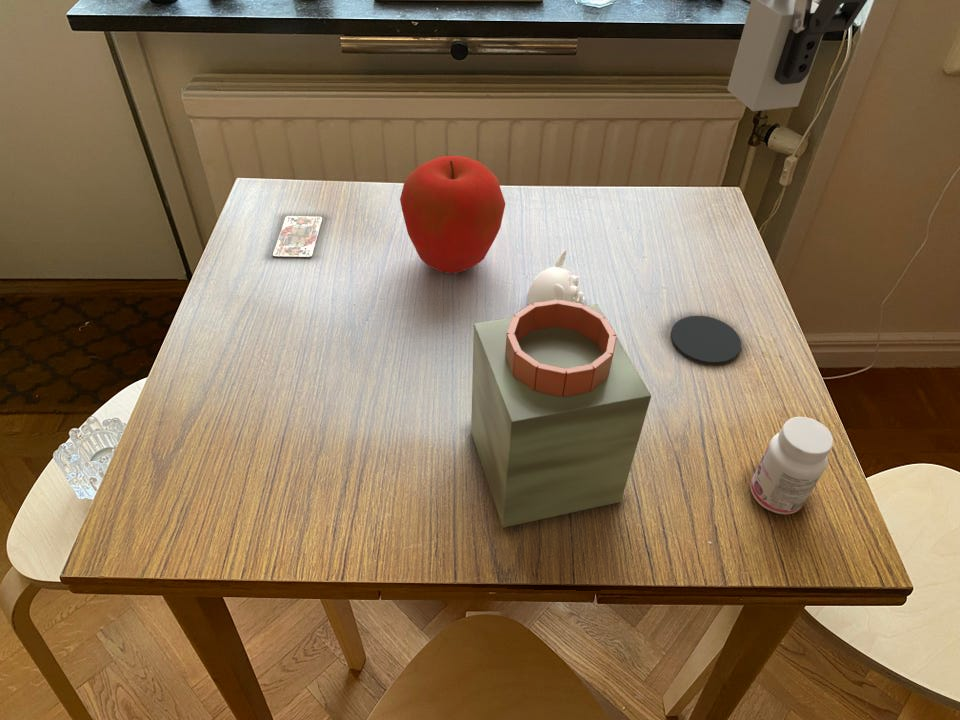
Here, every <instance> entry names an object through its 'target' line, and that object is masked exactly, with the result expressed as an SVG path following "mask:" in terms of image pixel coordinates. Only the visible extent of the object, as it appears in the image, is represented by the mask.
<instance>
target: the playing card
mask: <svg viewBox="0 0 960 720" xmlns="http://www.w3.org/2000/svg"><path fill="white" fill-rule="evenodd" d="M322 221H323V217H322V216H313V215H311V216H309V215H306V216H304V215H302V216H301V215H287V216H285V218H284V221H283V223H282V226H281V230H280V232H279V235H278V238H277V241H276V244H275V247H274V249H273V253H272V256H273V257H290V258H291V257H295V258H296V257H297V258H298V257H299V258H310V257H312V256H313V255H314V250H315V247H316V243H317V239H318V237H319V232H320V229H321V225H322Z"/></svg>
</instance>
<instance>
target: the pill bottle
mask: <svg viewBox="0 0 960 720" xmlns="http://www.w3.org/2000/svg"><path fill="white" fill-rule="evenodd" d="M833 446H834V438H833V434H832V433H831V431H830V430H829V429H828V428H827V427H826V425H825V424H823V423H821V422H820V421H818V420H816V419H814V418H811V417H805V416H795V417H791V418H789V419H787V420H786V421H785V422H784V424H783V425H782V427H781V429H780V430H779V432H778V433H776V434H775V435H774V436H772V438H771V439H770V441H769V443H768V445H767V447H766V448H765V451H764V452H763V455H762V457H761V460H760V462H759V463H758V465H757V467H756V470H755V472H754V473H753V476H752V478H751V480H750V491H751V495H752V497H753V498H754V499H755V501H756V502H757V503H758V504H759V505H760V506H761V507H762V508H764V509H766V510H768V511H770V512H772V513H775V514H779V515H791V514H795V513H797V512H799V511H800V510H801V509H802V508H803V507H804V506H805V504H806V502H807V500H808V498H809V497H810V495H811V493H812V492H813V490H814V488H815V487H816V486H817V484H818V483H819V480H820V478H821V477H822V476H823V475H824V472H825V471H826V468H827V466H828V464H829V456H828V455H829V453H830V452H831V450H832V449H833Z"/></svg>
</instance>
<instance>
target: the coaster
mask: <svg viewBox="0 0 960 720" xmlns="http://www.w3.org/2000/svg"><path fill="white" fill-rule="evenodd" d="M670 340H671V344H672V345H673V346H674V348H675V349H676V350H677V351H678V353H680V354H681V355H683V356H684V357H686V358H687V359H689V360H691V361H694V362H696V363H699V364H703V365H715V366H716V365H718V366H719V365H724V364H727V363H730V362H732V361H733V360H735V359H737V357H738V356H739V354H740V352H741V350H742V339H741V338H740V335H739V334H738V332H737V331H736V330H735V329H734V328H733V327H732V326H730V325H729V324H728V323H726V322H724V321H722V320H720V319H718V318H714V317H711V316H708V315H707V316H706V315H690V316H685V317H683V318H681V319H679V320H677V321H676V322H675V323H674V324H673V326H672V328H671V330H670Z"/></svg>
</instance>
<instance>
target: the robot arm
mask: <svg viewBox="0 0 960 720" xmlns="http://www.w3.org/2000/svg"><path fill="white" fill-rule="evenodd" d="M751 1H752V0H750V2H751ZM812 1H813V0H795V6H794V12H793V18H792V30H789V32H788V35H787V38H786V41H785V44H784V48H783V51H782V54H781V57H780V60H779V63H778V66H777V69H776V73H775V76H774V78H775V80H776V81H777V82H779V83H780V84H782V85H784V84H794V83H800V82H801V81H802V80H803V79H804V78H805V77H806V76H807V75H808V73H809V71H810V68H811V66H812V67H813V65H811V64H812V63H813V64H814V62H813V60H814V59H813V58H814V57H815V54H816V52H817V53H818V51H817V49H818V50H819V48H818V46H819V47H820V45H819V43H820V40H821V38H822V39H823V37H824V35H825V34H826V33H829V32H840V31H841V32H842V31H847V30H849V29H850V27H851V26H852V25H853V23H854V22H855V20H856V19H857V18H858V16H859V14H860V13H861V11H862V10H863V8H864V7H865V5H866V4H867V2H868V0H818V4H819V6H818V7H817V9H816V11H815V12H814V13H810V12H811V6H812ZM839 7H840V9H839ZM838 9H839V10H838ZM822 36H823V37H822ZM821 41H822V40H821ZM820 44H821V43H820ZM816 55H817V54H816ZM815 58H816V57H815ZM814 61H815V60H814ZM811 69H812V68H811ZM810 72H811V71H810Z"/></svg>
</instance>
